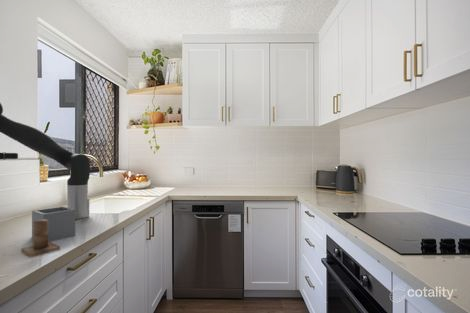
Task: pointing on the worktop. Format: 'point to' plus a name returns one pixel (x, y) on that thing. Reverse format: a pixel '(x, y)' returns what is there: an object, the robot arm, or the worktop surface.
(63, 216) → the tub
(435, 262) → the worktop surface
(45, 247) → the wooden peg on base
